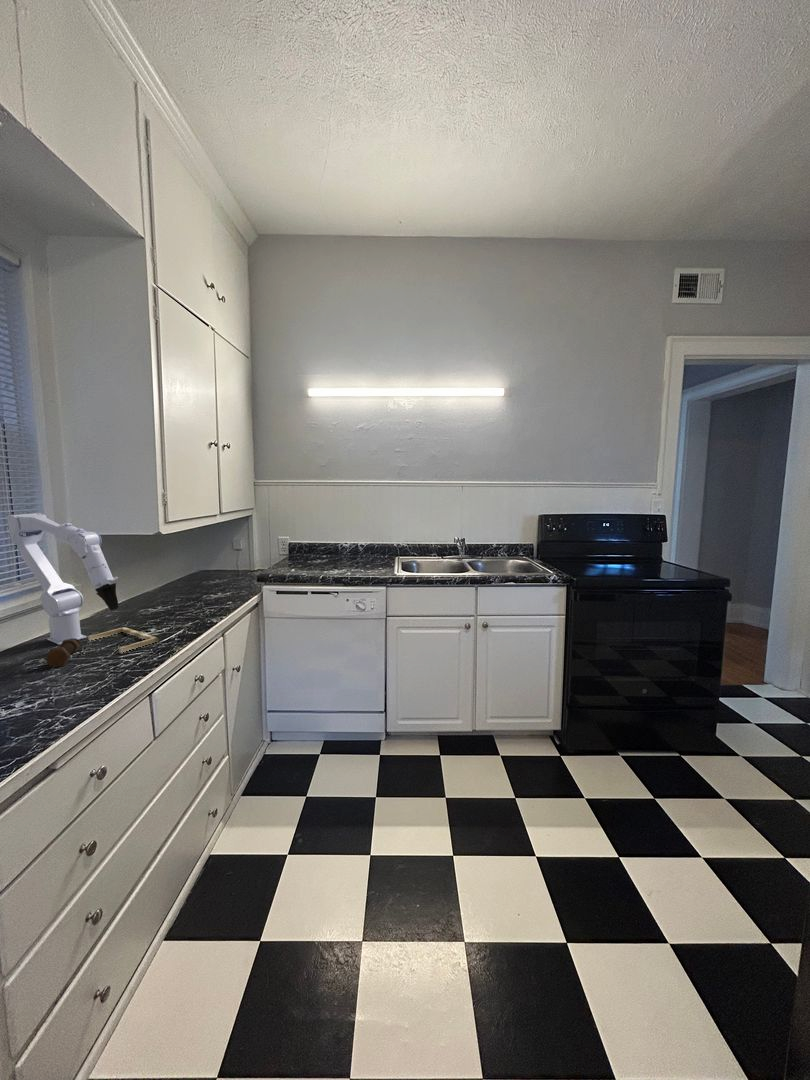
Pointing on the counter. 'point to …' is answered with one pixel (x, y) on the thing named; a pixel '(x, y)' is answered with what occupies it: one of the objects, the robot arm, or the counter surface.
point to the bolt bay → (148, 638)
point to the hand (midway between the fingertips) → (114, 608)
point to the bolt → (62, 652)
